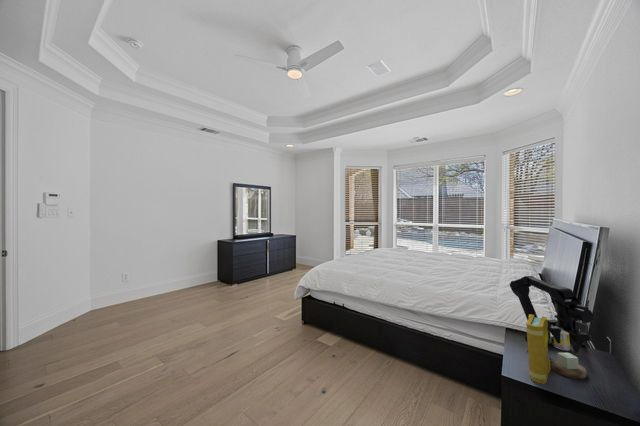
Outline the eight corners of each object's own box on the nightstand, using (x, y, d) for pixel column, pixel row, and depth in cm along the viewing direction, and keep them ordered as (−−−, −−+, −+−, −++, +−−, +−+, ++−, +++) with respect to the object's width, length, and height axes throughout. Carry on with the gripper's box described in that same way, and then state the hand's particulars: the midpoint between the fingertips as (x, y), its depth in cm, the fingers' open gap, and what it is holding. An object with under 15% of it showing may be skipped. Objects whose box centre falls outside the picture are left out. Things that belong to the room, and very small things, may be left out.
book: (532, 364, 130) (529, 314, 131) (550, 369, 125) (547, 317, 126) (527, 379, 118) (524, 324, 119) (547, 385, 113) (543, 328, 114)
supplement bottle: (566, 346, 147) (564, 323, 147) (573, 351, 140) (571, 327, 141) (551, 344, 149) (549, 322, 149) (557, 350, 143) (556, 326, 143)
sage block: (567, 369, 121) (566, 358, 121) (558, 363, 126) (557, 352, 126) (578, 368, 121) (578, 358, 121) (568, 363, 126) (568, 352, 126)
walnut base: (567, 379, 117) (566, 373, 118) (545, 364, 129) (544, 359, 130) (594, 378, 117) (594, 373, 117) (570, 364, 129) (569, 359, 129)
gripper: (602, 321, 114) (605, 357, 114) (564, 307, 133) (566, 338, 132) (576, 322, 115) (579, 358, 114) (542, 308, 134) (544, 339, 133)
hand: (567, 347), depth 123 cm, fingers open, 9 cm apart
